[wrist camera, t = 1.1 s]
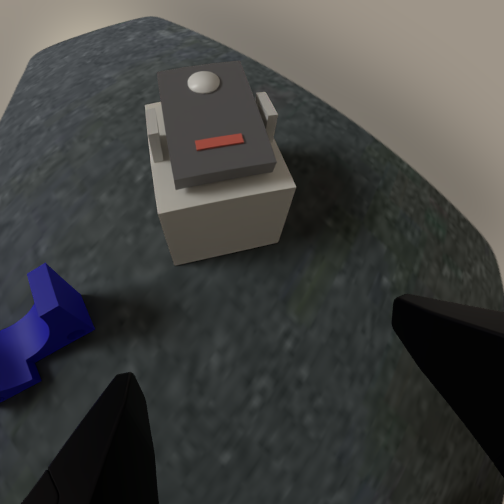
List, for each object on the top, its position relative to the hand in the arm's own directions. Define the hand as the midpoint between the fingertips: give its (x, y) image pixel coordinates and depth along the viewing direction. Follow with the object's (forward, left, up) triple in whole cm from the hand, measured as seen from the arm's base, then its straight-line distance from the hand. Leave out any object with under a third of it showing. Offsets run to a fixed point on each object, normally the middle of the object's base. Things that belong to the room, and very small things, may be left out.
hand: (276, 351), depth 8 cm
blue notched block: (+10, +13, -14) cm, 21 cm away
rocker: (+13, -6, -5) cm, 15 cm away
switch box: (+13, -6, -14) cm, 20 cm away
